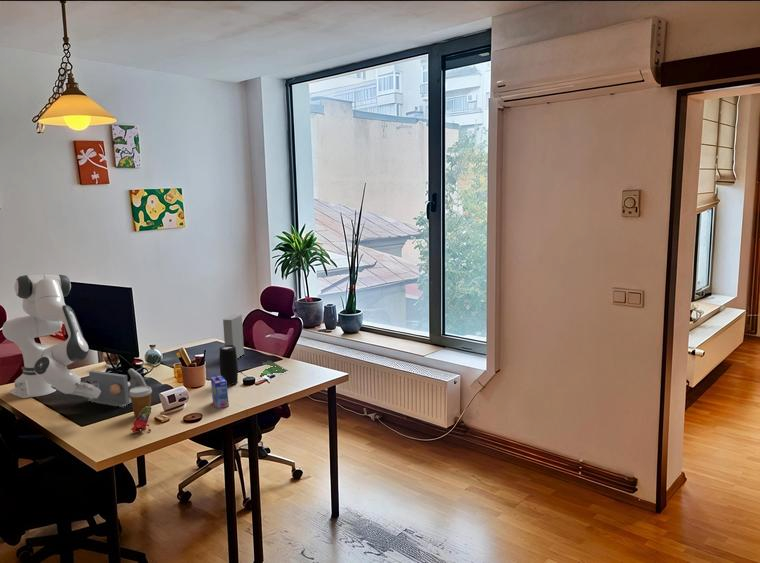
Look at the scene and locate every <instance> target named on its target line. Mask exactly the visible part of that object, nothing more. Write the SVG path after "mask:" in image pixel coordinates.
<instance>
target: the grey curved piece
mask: <svg viewBox="0 0 760 563" xmlns="http://www.w3.org/2000/svg"><path fill="white" fill-rule="evenodd" d="M127 373H128V374H129V376H130V379H129V381H128V382H130V386H129V387H128V391H129V392H130V390H131V389H132V388H135V387H139V386H148V385H147V384H146V381H145V379H144V377H143V376H142V375H141V374H140V373H139V372H138V371H136V370H135V369H134V368H129V369H128V370H127Z"/></svg>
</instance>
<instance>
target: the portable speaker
mask: <svg viewBox="0 0 760 563" xmlns="http://www.w3.org/2000/svg"><path fill="white" fill-rule="evenodd" d="M218 361H219V374H220V376H222V377H223V378H224V379H225V380H226V381H227V387H230V386H231V385H237V384H239V383H238V382H239V381H238V378H239V377H238V376H239V371H238V366H239V365H238V360H237V354H236V348H235V346H234V345H226V346H225V345H223V346H219V360H218Z"/></svg>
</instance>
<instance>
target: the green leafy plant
mask: <svg viewBox="0 0 760 563" xmlns="http://www.w3.org/2000/svg"><path fill="white" fill-rule="evenodd" d="M266 361H267V362H263V361H262V362H263V363H262V364H263V365H266V364H267V365H270V366H273V367H270V368H268V369H265V370H264V371H263V373H261V375H260V377H262V376H264V375H267V374H273V373H284V372H286V371H289V370H287V369H286V368H284V367H282V366H280V365H279V364H277V363H275V361H273V360H266ZM275 366H276V367H275ZM282 368H283V369H282ZM276 370H277V371H276Z"/></svg>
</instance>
